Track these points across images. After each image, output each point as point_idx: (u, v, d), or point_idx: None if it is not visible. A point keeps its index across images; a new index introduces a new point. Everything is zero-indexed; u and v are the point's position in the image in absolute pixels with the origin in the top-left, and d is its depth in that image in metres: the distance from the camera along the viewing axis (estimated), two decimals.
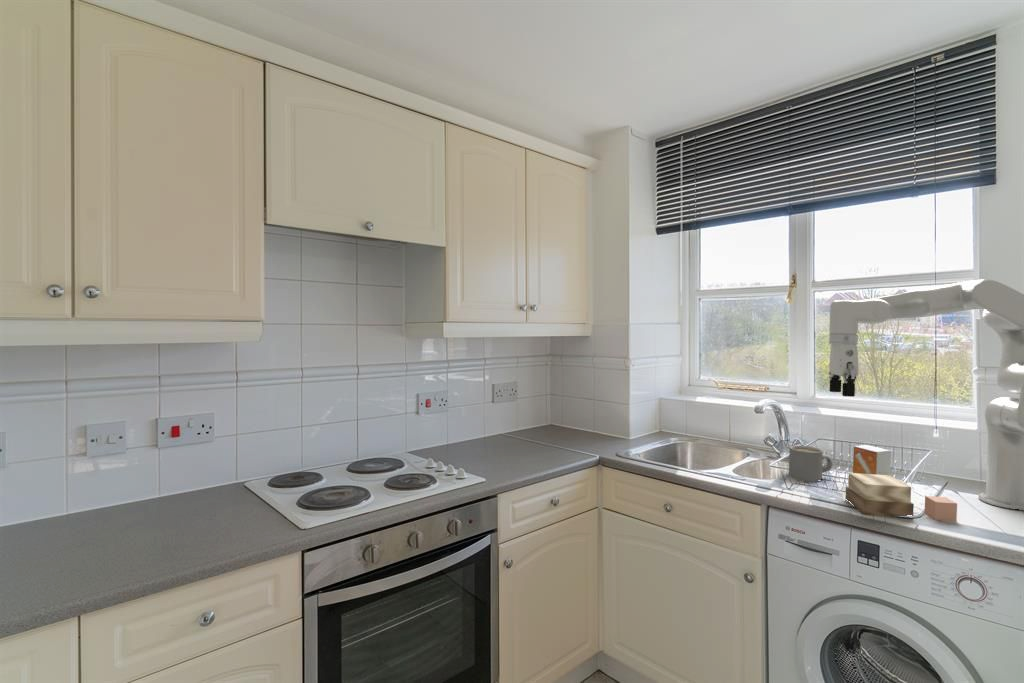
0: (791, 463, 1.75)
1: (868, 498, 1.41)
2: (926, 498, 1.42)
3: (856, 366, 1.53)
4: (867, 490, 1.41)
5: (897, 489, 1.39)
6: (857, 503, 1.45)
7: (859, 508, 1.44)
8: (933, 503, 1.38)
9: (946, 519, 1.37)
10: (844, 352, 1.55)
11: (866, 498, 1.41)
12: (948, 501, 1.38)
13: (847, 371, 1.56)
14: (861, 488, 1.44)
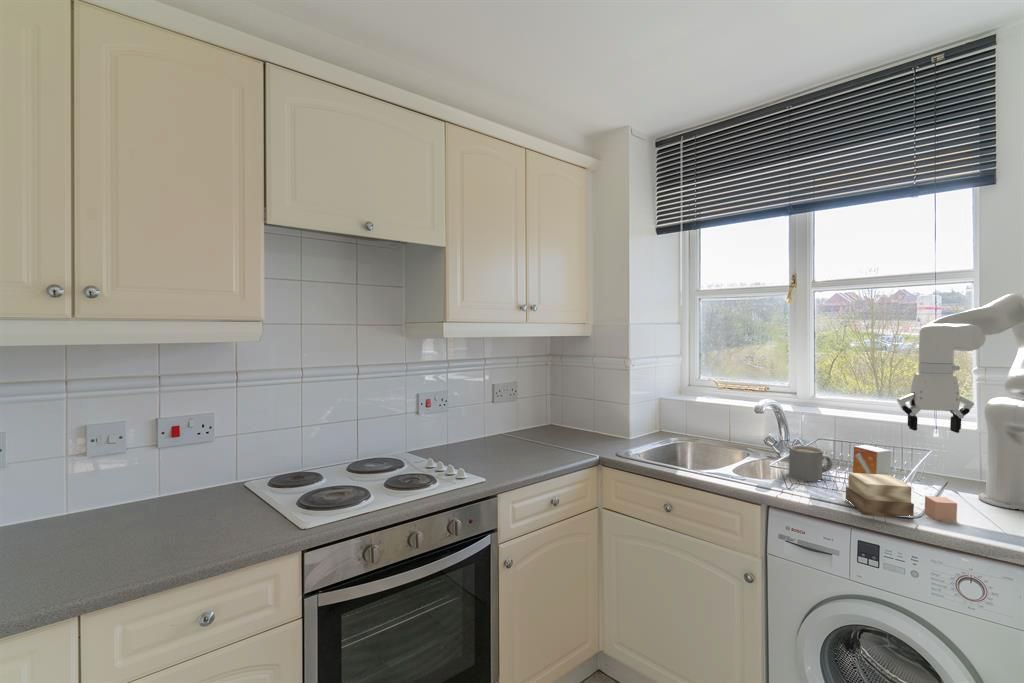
0: (791, 463, 1.75)
1: (869, 498, 1.41)
2: (926, 498, 1.42)
3: None
4: (868, 490, 1.41)
5: (898, 489, 1.40)
6: (857, 503, 1.45)
7: (859, 508, 1.44)
8: (933, 503, 1.38)
9: (946, 519, 1.37)
10: None
11: (867, 498, 1.41)
12: (948, 501, 1.38)
13: None
14: (862, 488, 1.44)
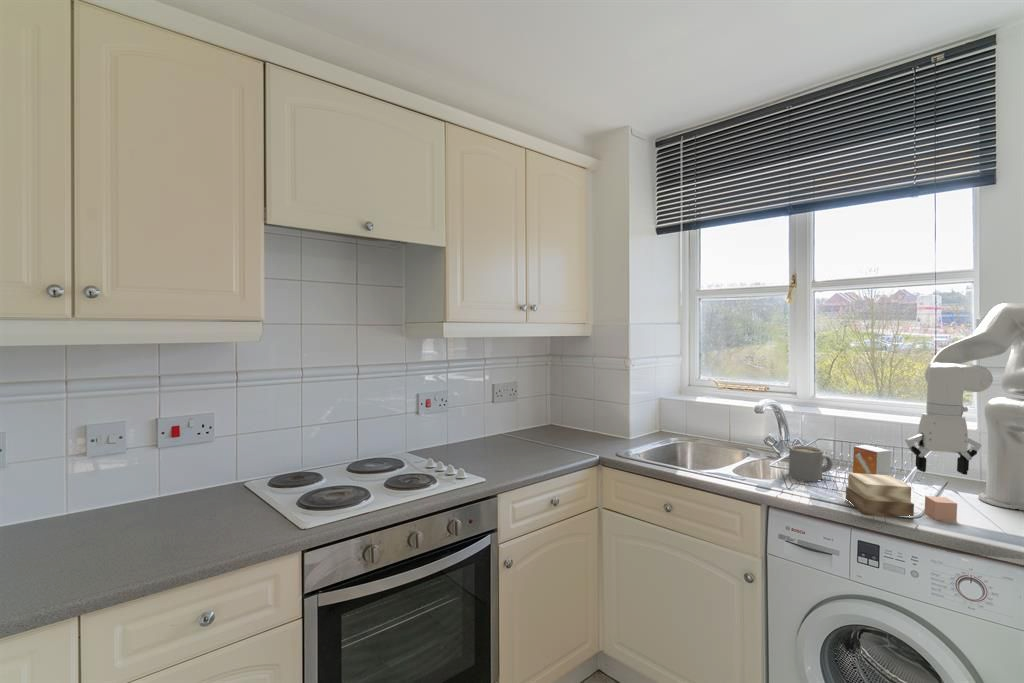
0: (791, 463, 1.75)
1: (868, 498, 1.41)
2: (926, 498, 1.42)
3: None
4: (868, 490, 1.41)
5: (898, 489, 1.39)
6: (857, 503, 1.45)
7: (859, 508, 1.44)
8: (933, 503, 1.38)
9: (946, 519, 1.37)
10: None
11: (866, 498, 1.41)
12: (948, 501, 1.38)
13: None
14: (861, 488, 1.44)
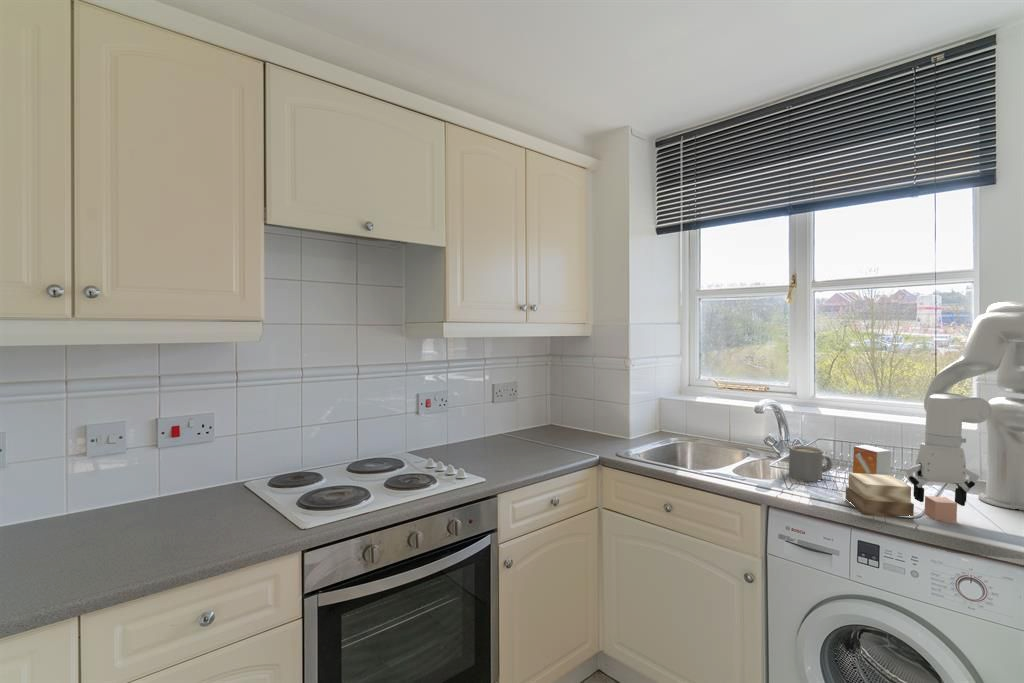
0: (791, 463, 1.75)
1: (868, 498, 1.41)
2: (926, 498, 1.42)
3: None
4: (867, 490, 1.41)
5: (897, 489, 1.39)
6: (857, 503, 1.45)
7: (859, 508, 1.44)
8: (933, 503, 1.38)
9: (946, 519, 1.37)
10: None
11: (866, 498, 1.41)
12: (948, 501, 1.38)
13: None
14: (861, 488, 1.44)
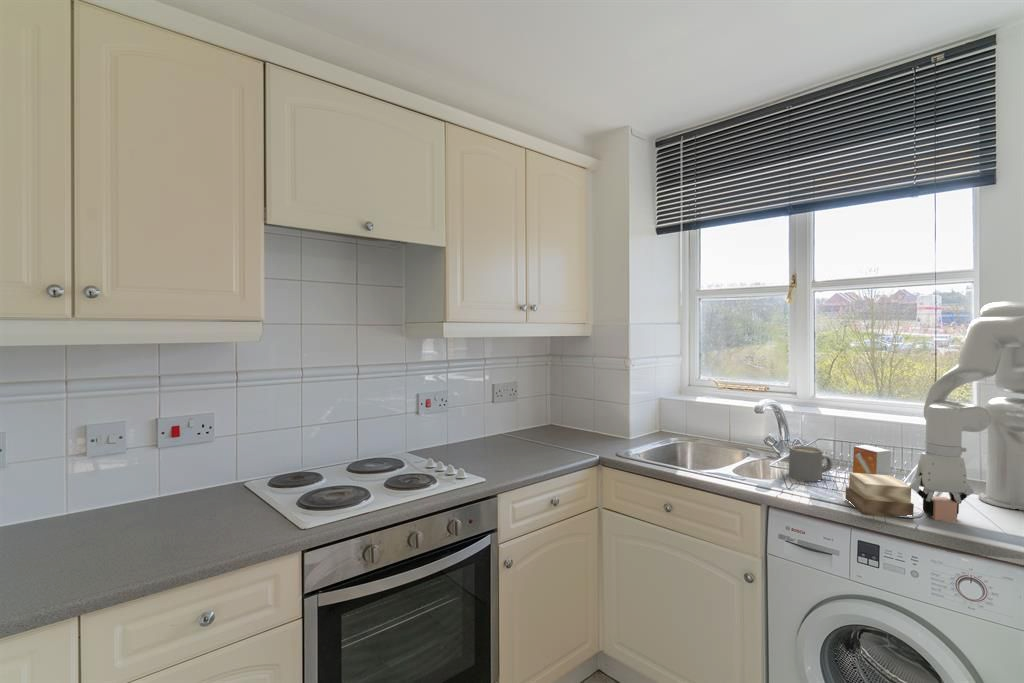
0: (791, 463, 1.75)
1: (868, 498, 1.41)
2: None
3: None
4: (867, 490, 1.41)
5: (897, 490, 1.40)
6: (857, 503, 1.45)
7: (859, 508, 1.44)
8: (933, 503, 1.38)
9: (946, 519, 1.37)
10: None
11: (866, 498, 1.41)
12: (948, 501, 1.38)
13: None
14: (861, 488, 1.44)
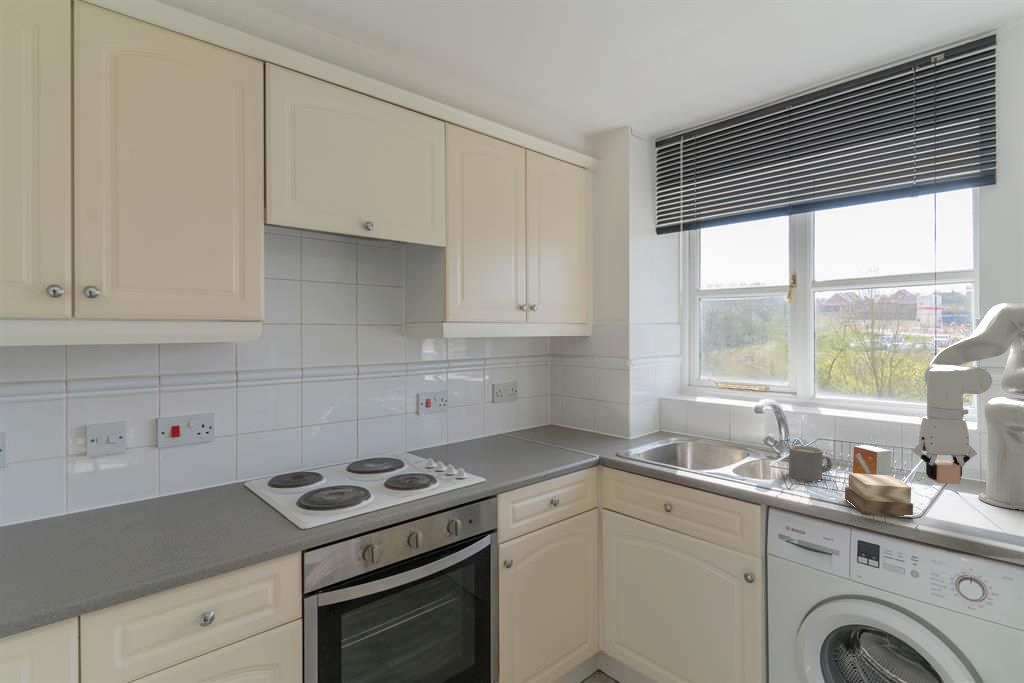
0: (791, 463, 1.75)
1: (868, 498, 1.41)
2: None
3: None
4: (867, 490, 1.41)
5: (897, 490, 1.39)
6: (857, 503, 1.45)
7: (859, 508, 1.44)
8: (937, 466, 1.38)
9: (950, 482, 1.37)
10: None
11: (866, 498, 1.41)
12: (951, 464, 1.38)
13: None
14: (861, 488, 1.44)
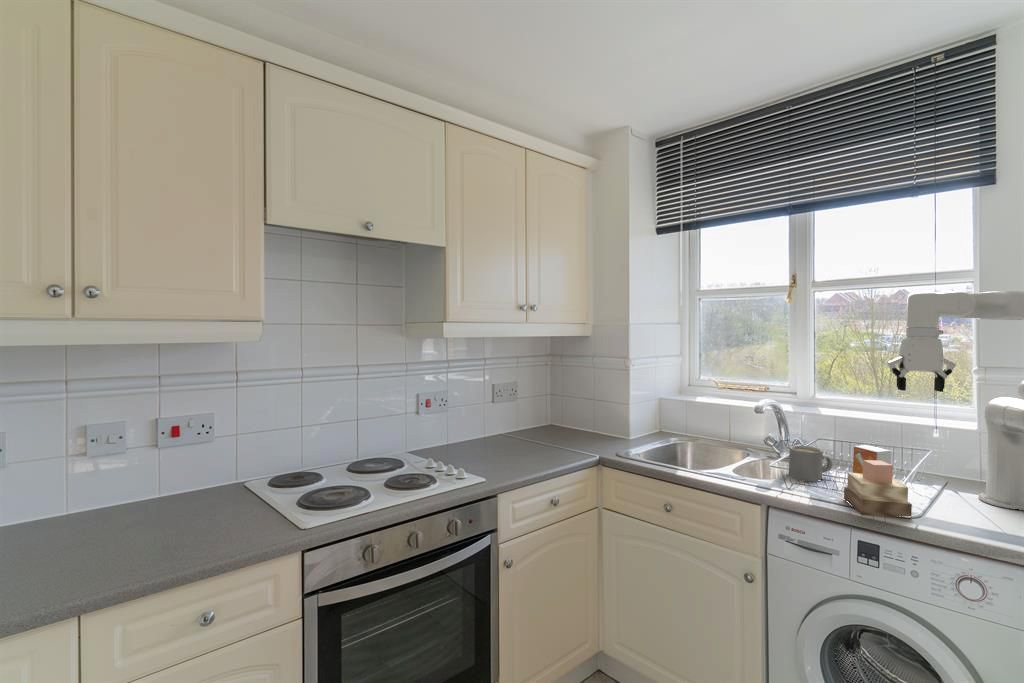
0: (791, 463, 1.75)
1: (864, 497, 1.41)
2: (864, 462, 1.47)
3: None
4: (863, 490, 1.41)
5: (894, 490, 1.39)
6: (855, 503, 1.45)
7: (857, 508, 1.44)
8: (872, 466, 1.43)
9: (883, 481, 1.42)
10: None
11: (862, 497, 1.42)
12: (884, 463, 1.43)
13: None
14: (858, 488, 1.44)
